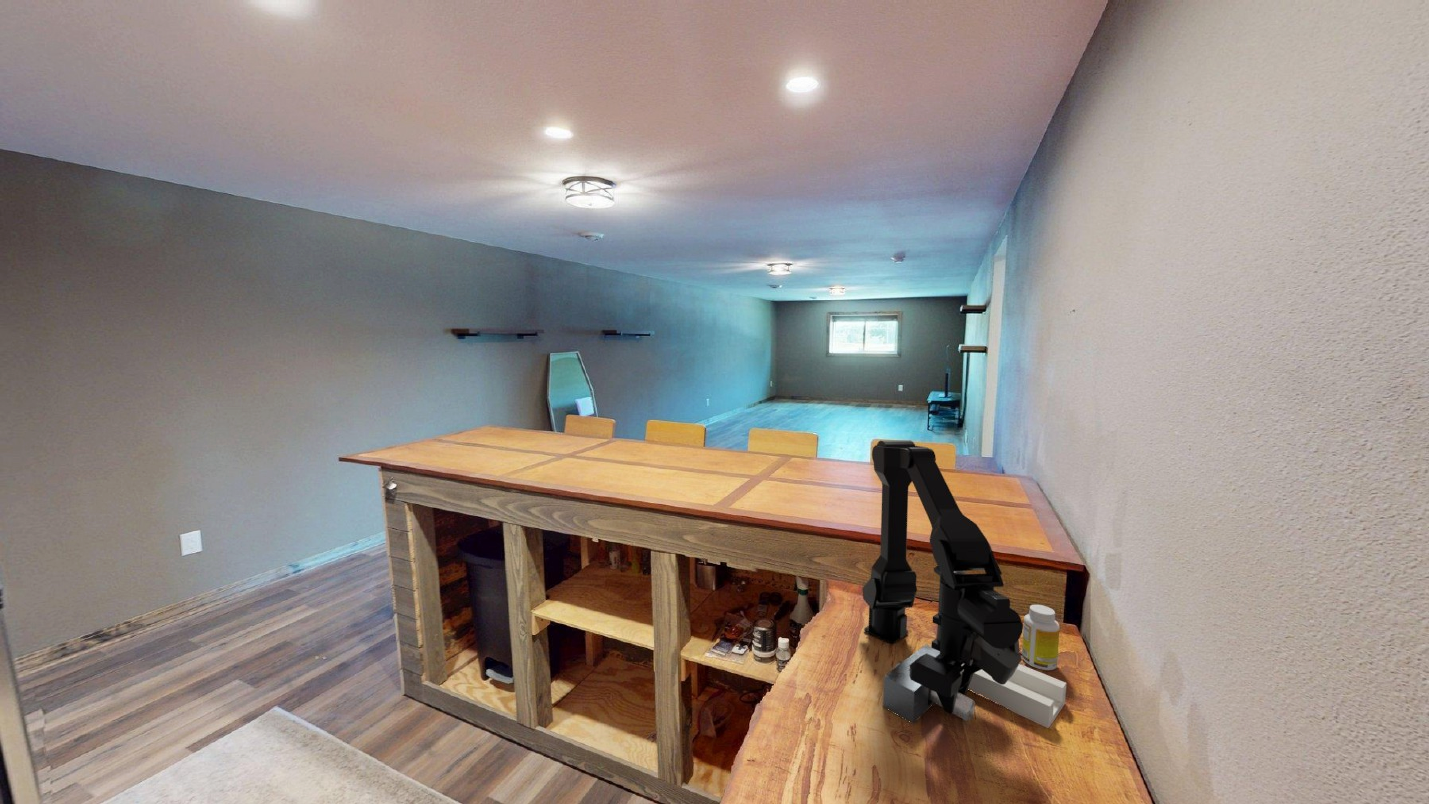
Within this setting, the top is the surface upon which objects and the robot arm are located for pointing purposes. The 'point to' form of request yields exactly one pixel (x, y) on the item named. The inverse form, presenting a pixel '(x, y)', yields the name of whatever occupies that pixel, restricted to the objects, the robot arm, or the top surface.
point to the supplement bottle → (1040, 638)
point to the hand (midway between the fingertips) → (953, 707)
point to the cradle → (1024, 693)
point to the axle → (962, 704)
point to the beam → (907, 689)
